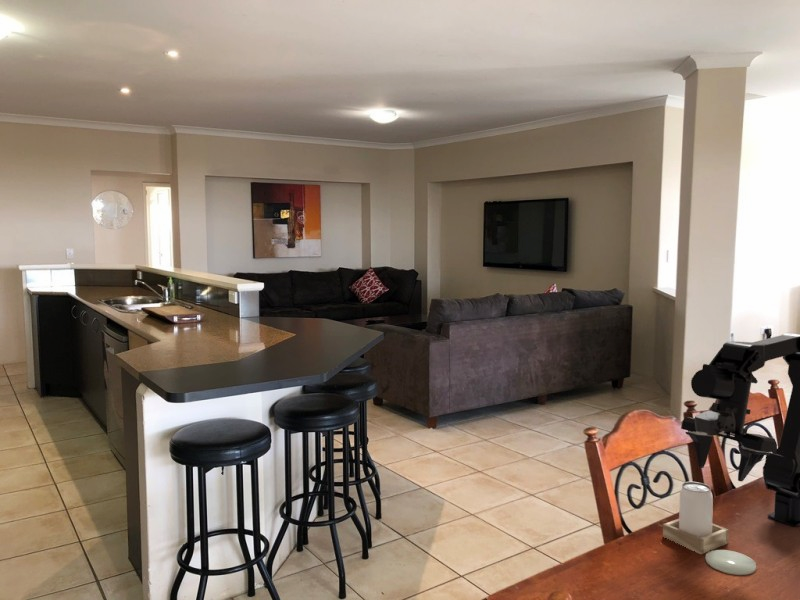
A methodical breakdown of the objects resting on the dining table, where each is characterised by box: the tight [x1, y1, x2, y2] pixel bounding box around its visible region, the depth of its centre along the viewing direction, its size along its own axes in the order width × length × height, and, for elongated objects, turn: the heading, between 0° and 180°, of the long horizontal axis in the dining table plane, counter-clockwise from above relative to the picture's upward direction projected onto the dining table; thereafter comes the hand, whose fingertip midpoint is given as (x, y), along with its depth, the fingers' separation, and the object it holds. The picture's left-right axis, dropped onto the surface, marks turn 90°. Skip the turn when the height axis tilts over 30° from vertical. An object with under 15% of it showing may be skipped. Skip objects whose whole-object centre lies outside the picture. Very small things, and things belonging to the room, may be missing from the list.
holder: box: [662, 518, 729, 555], centre depth 140 cm, size 9×9×3 cm
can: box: [678, 481, 714, 538], centre depth 139 cm, size 6×6×12 cm
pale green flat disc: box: [705, 549, 757, 576], centre depth 130 cm, size 9×9×1 cm
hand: (720, 474), depth 137 cm, fingers open, 9 cm apart
